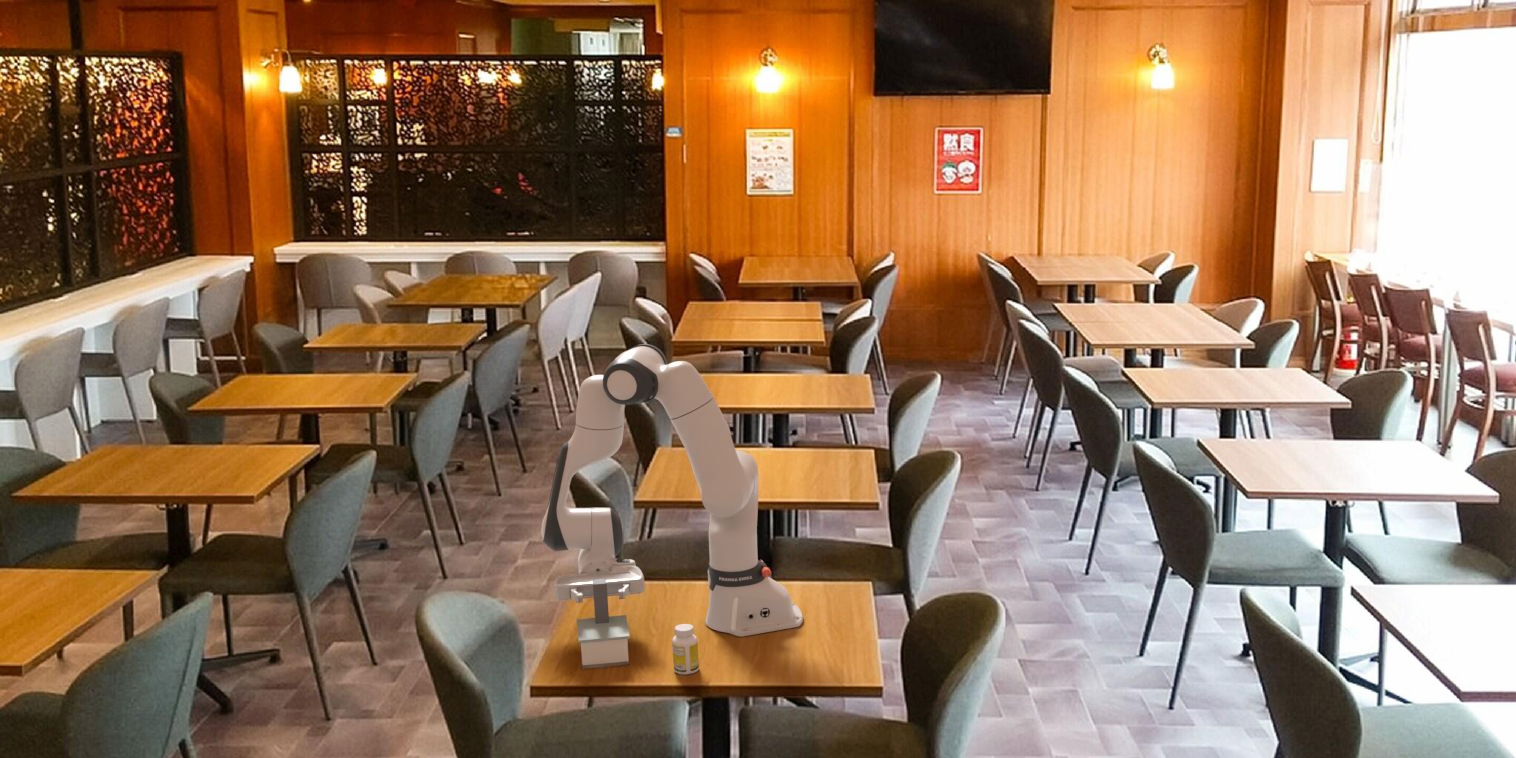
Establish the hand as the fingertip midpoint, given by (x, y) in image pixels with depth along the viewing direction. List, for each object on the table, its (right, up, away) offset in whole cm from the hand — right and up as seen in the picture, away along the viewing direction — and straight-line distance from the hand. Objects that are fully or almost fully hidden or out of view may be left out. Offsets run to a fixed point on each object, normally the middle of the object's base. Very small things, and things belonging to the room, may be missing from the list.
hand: (600, 597), depth 316 cm
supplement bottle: (+19, -14, -9) cm, 26 cm away
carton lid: (+1, -7, -2) cm, 7 cm away
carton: (+1, -13, 0) cm, 13 cm away
